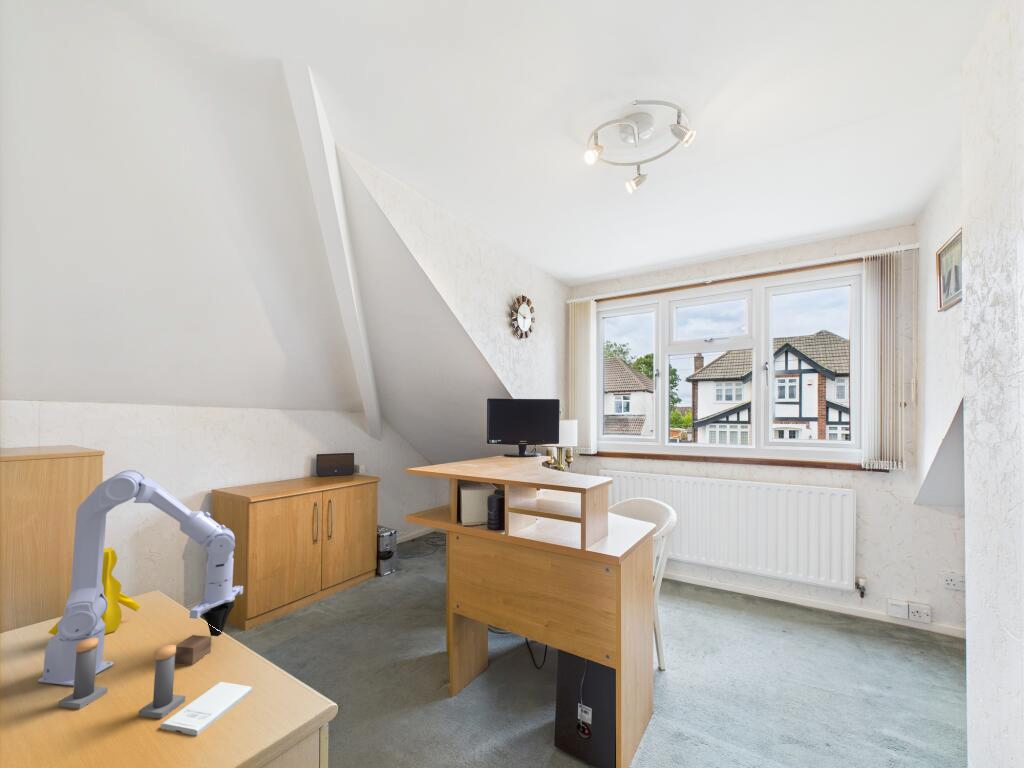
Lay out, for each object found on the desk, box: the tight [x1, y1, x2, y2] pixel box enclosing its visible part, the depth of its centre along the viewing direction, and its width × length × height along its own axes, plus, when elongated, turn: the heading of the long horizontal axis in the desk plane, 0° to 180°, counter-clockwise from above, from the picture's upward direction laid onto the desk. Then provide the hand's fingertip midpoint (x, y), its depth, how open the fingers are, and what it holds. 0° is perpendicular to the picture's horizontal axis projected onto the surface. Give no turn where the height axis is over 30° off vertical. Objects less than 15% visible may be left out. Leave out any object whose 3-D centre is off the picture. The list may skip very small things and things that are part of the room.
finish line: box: [57, 638, 186, 719], centre depth 86 cm, size 23×5×11 cm, turn 83°
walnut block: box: [175, 634, 212, 666], centre depth 101 cm, size 5×5×4 cm
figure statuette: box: [47, 547, 141, 636], centre depth 112 cm, size 18×8×22 cm, turn 147°
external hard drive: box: [160, 681, 253, 736], centre depth 84 cm, size 2×8×12 cm
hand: (216, 634), depth 108 cm, fingers closed
